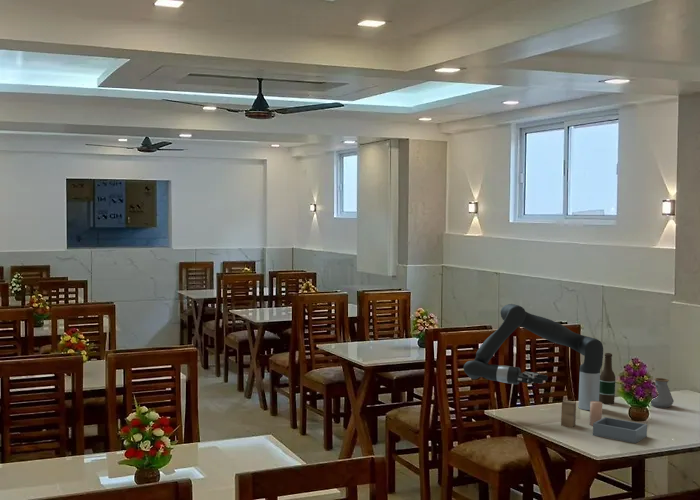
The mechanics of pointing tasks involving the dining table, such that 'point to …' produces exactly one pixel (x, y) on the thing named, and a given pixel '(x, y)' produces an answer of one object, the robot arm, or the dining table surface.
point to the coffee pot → (662, 394)
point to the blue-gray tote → (620, 430)
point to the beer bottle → (607, 382)
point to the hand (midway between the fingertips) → (545, 379)
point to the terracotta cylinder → (595, 411)
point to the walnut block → (568, 413)
